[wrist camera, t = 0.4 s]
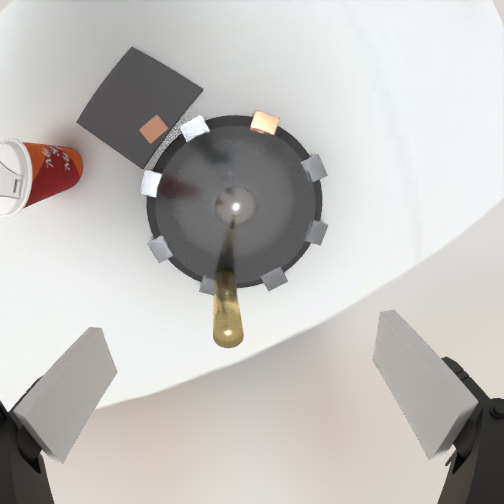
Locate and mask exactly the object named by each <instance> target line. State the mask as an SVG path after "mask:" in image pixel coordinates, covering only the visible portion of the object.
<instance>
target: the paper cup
mask: <svg viewBox="0 0 504 504" xmlns="http://www.w3.org/2000/svg"><path fill="white" fill-rule="evenodd" d="M82 168H83V165H82V159H81V157H80V155H79V154H78V152H77V151H75V150H73V149H71V148H66V147H60V146H52V145H44V144H35V143H24V142H21V141H19V140H17V139H14V138H10V139H6V140H4V141H2V142H1V143H0V215H1V216H4V217H13V216H15V215H17V214H18V213H19V212H20V211H21V210H22V209H23V208H25V207H27V206H30V205H32V204H34V203H36V202H39V201H41V200H43V199H46V198H48V197H50V196H53V195H55V194H57V193H60V192H62V191H65V190H67V189H69V188H71V187H73V186H74V185H75V184H76V183H77V182H78V181H79V179H80V177H81V174H82Z"/></svg>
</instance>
